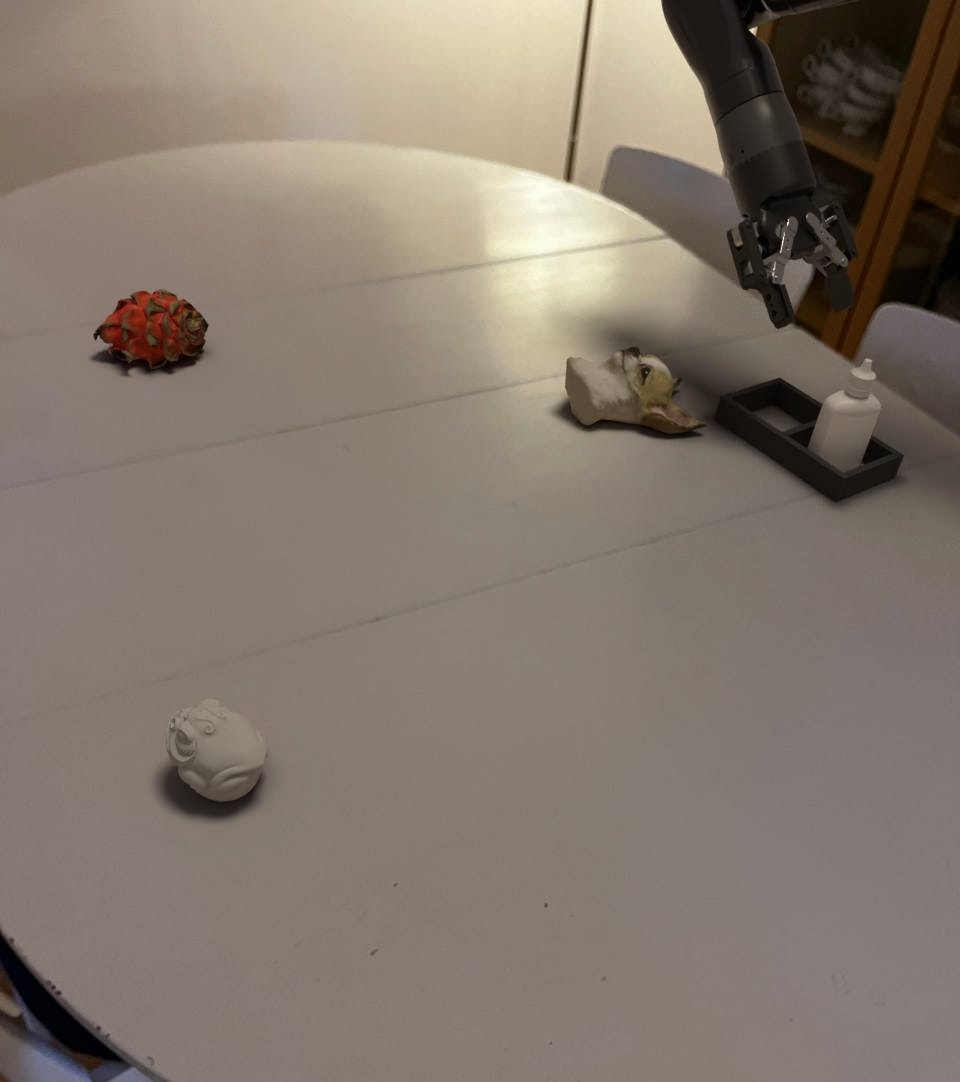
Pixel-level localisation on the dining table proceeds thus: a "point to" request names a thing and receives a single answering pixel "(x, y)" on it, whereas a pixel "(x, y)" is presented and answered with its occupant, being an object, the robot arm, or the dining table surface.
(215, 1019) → the dining table surface
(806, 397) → the dark grey divided tray
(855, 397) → the eye dropper bottle
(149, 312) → the dragon fruit
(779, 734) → the dining table surface
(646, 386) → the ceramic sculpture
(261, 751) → the frog figurine
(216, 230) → the dining table surface
